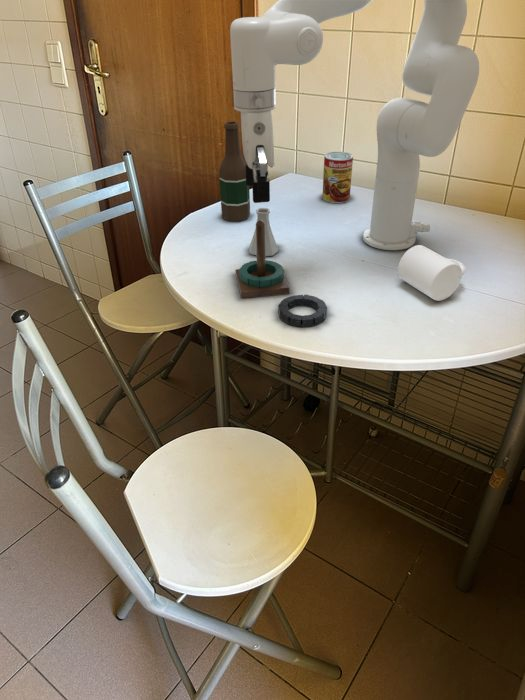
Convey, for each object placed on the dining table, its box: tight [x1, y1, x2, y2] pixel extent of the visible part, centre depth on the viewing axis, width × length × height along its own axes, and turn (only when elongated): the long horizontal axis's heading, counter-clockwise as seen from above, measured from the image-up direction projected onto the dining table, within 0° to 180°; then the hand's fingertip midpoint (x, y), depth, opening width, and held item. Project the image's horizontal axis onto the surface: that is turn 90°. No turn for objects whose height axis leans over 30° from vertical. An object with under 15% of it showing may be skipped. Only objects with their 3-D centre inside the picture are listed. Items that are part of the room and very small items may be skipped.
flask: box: [248, 207, 279, 257], centre depth 122 cm, size 7×7×10 cm
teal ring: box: [238, 259, 285, 287], centre depth 111 cm, size 9×9×2 cm
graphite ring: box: [277, 294, 328, 328], centre depth 102 cm, size 9×9×2 cm
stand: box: [234, 220, 290, 299], centre depth 108 cm, size 10×10×14 cm
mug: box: [397, 244, 467, 302], centre depth 107 cm, size 12×10×8 cm
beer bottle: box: [218, 120, 251, 223], centre depth 135 cm, size 8×8×24 cm
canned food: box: [321, 151, 354, 204], centre depth 148 cm, size 8×8×12 cm
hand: (257, 193), depth 104 cm, fingers open, 9 cm apart
